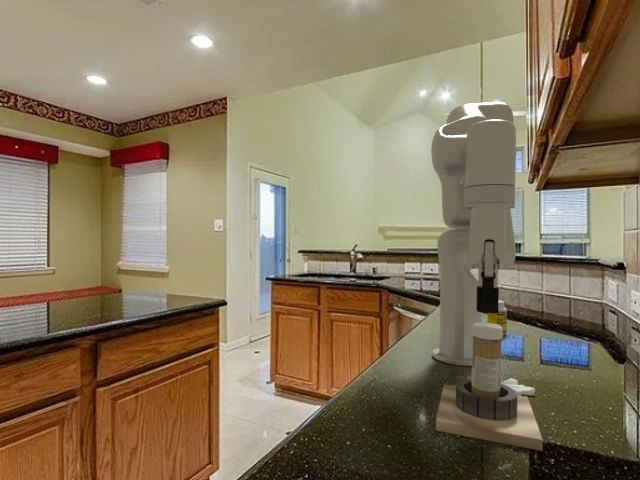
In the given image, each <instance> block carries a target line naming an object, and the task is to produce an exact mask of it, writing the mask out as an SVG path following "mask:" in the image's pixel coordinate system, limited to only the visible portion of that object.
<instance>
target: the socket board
mask: <svg viewBox="0 0 640 480" xmlns="http://www.w3.org/2000/svg"><path fill="white" fill-rule="evenodd" d="M441 391H442V392H441V395H440V400H439V405H438V410H437V413H436V418H435V431H437V432H443V433H449V434H453V435H459V436H463V437H467V438H474V439H477V440H478V439H479V440H484V441H490V442H494V443H498V444H499V443H500V444H505V445H510V446H515V447H519V448H526V449H530V450H536V451H540V452H543V451H544V450H543V446H544V445H543V444H544V443H543V441H544V440H543V437H542V434H541V431H540V428H539V425H538V422H537V419H536V416H535V414H534V412H533V408H532V406H531V402H530V399H529V397H528V396H526V395H524V396H523V395H521V396H518V395H517V393H516V391H515V390H513V389H512V388H510V387H508V386H506V385H503V384H501V388H500V397H496V398H492V397H485V396H479V395H477V394H474V393H471V392H472V384H471V378H469V379H467V378H466V379H462V380H460V381H457V382H456V385H450V384H445V383H444V384H443V385H442V390H441Z"/></svg>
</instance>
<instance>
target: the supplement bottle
mask: <svg viewBox="0 0 640 480" xmlns="http://www.w3.org/2000/svg"><path fill="white" fill-rule="evenodd" d="M507 321H508V309H507V308H506V307H505V301H503V300H498V313H496V314H495V313H487V323H492V324H497V325H500V326H501V327H502V328H503V336H504V335H505V336H506V334H507V329H508V328H507V325H508V323H507Z"/></svg>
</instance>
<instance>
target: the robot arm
mask: <svg viewBox="0 0 640 480" xmlns="http://www.w3.org/2000/svg"><path fill="white" fill-rule="evenodd" d="M514 120H515V119H514V112H513V109H512V108H511V107H510V105H509V104H507V103H506V102H501V101H500V102H499V101H498V102H497V101H495V102H479V103H478V102H477V103H465V104H461V105H458V106H457V107H455V108H453V109H452V110H451V111H450V113H449V114H448V116H447V118H446V124H444V125H442V126H440V127H439V128H438V129H437V130H436V131H435V133H434V134H433V137H432V142H431V149H430V151H431V164H432V167H433V170H434V172H435V173H436V174H437V177H438V179H439V181H440V185H441V207H442V209H441V210H442V219H443V222H444V224H445V226H447V228H449V230H446V231H444V232H442V233H441V234H440V235H439V237H438V239H437V255H438V262H439V273H440V274H439V276H440V277H439V279H440V280H439V283H440V285H439V286H440V288H439V289H440V291H439V292H440V293H439V294H440V295H439V297H440V299H439V300H440V301H439V346H438V347H435V348H434V349H433V350H432V357H433V358H434V359H436V360H437V361H440V362H442V363H445V364H450V365H456V366H461V367H472V360H473V335H472V326H473V324H474V323H482V313H486V314H488V313H495V314H496V313H498V301H499V292H500V291H499V287H498V278H499V277H498V275H499V270H506V269H509V268H511V267H512V266H513V264H514V263H515V260H516V252H517V251H516V249H517V248H516V240H515V239H516V238H515V233H514V225H513V217H512V209H515V207H516V204H515V203H516V158H517V130H516V127H515V125H514ZM472 270H478V279H477V278H476V277H475V276H474V274H472V272H471V271H472Z"/></svg>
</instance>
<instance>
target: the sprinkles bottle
mask: <svg viewBox="0 0 640 480" xmlns="http://www.w3.org/2000/svg"><path fill="white" fill-rule="evenodd" d="M472 335H473V360H472V366H471V378H470V379H471V384H472V392H471V393H474V394H477V395H479V396H485V397H492V398H496V397H500V388H501V383H502V379H501V378H502V341H503V338H504V337H503V336H504V335H503V328H502V327H501V326H500V325H497V324H492V323H488V322H481V323H474V324H473V326H472Z"/></svg>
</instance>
